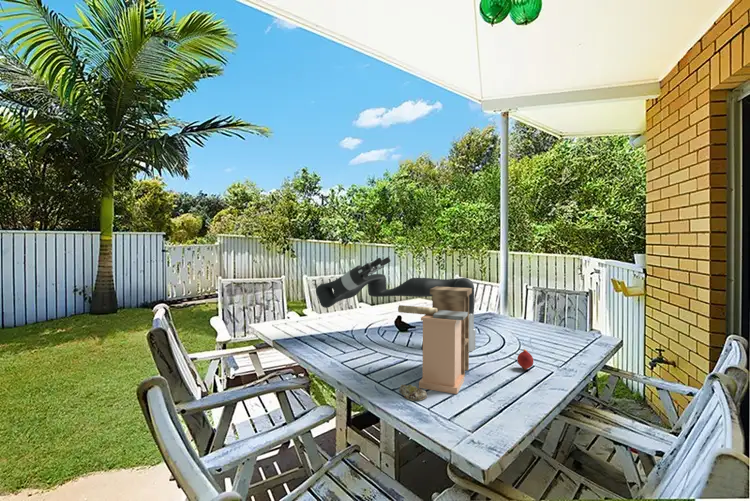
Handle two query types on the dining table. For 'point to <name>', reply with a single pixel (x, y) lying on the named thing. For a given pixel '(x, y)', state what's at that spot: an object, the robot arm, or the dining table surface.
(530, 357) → the onion
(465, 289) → the plant stand
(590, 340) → the dining table surface
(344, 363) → the dining table surface
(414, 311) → the trowel
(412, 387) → the mineral rock
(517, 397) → the dining table surface
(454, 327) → the terracotta pedestal
